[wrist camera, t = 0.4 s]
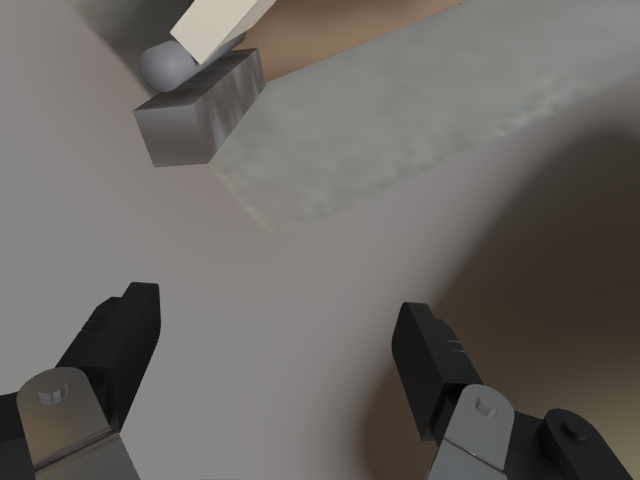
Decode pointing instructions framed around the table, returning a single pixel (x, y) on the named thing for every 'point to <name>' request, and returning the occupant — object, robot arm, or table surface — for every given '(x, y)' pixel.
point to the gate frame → (263, 70)
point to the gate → (200, 40)
